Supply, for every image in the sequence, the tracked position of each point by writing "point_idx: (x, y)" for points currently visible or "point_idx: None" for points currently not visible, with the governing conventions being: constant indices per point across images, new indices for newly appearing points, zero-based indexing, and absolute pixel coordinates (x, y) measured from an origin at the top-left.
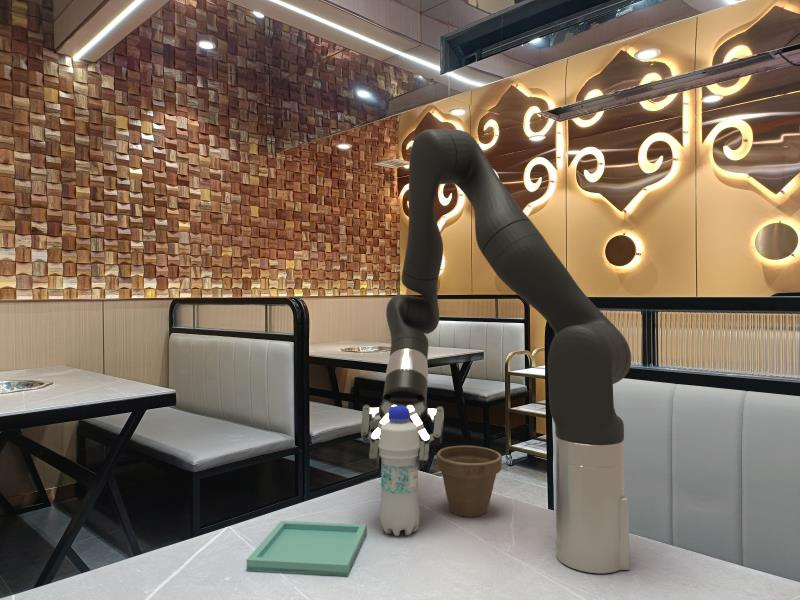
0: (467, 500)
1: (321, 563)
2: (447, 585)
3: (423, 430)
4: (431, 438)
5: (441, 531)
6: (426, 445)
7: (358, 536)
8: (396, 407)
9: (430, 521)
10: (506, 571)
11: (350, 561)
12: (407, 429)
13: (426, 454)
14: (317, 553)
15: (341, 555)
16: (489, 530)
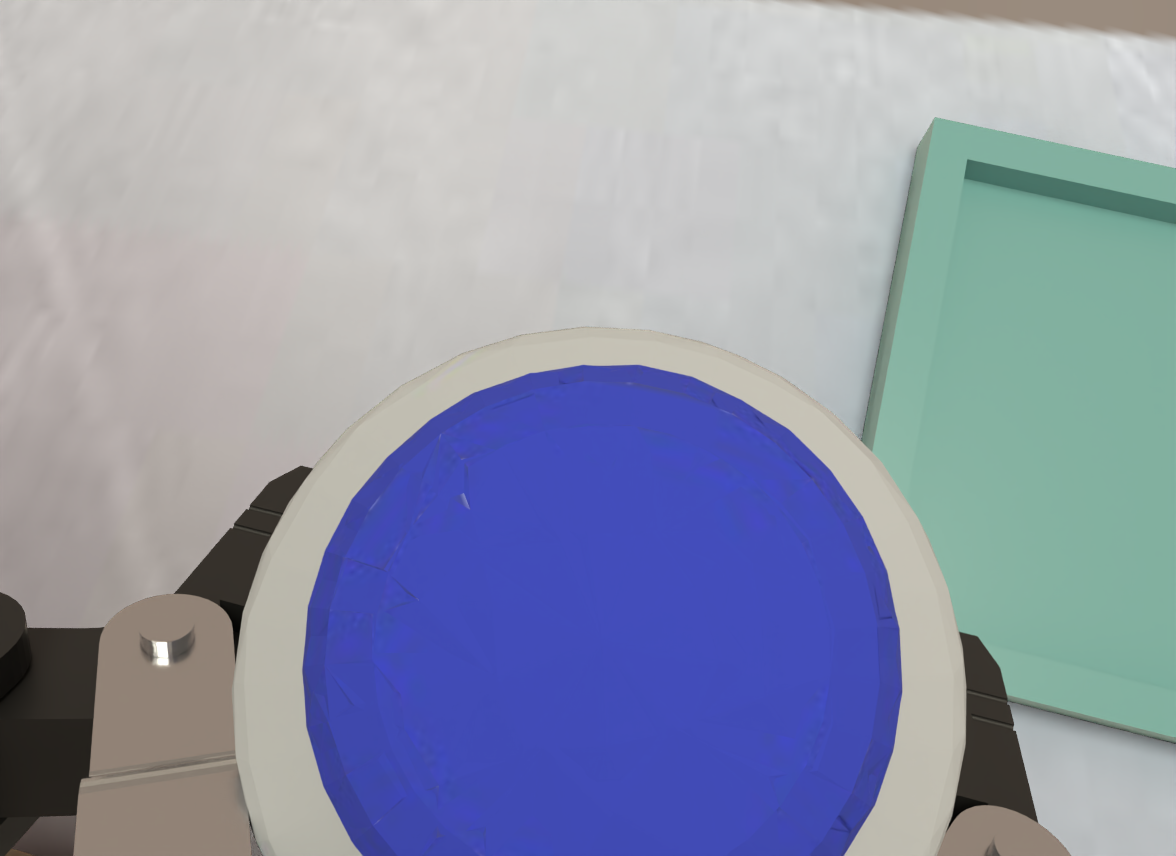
0: (12, 850)
1: (1072, 148)
2: (461, 27)
3: (135, 740)
4: (79, 657)
5: None
6: (213, 596)
7: (887, 460)
8: (702, 493)
9: None
10: (149, 113)
11: (919, 185)
12: (483, 358)
13: (272, 508)
14: (1107, 352)
15: (968, 315)
16: None
